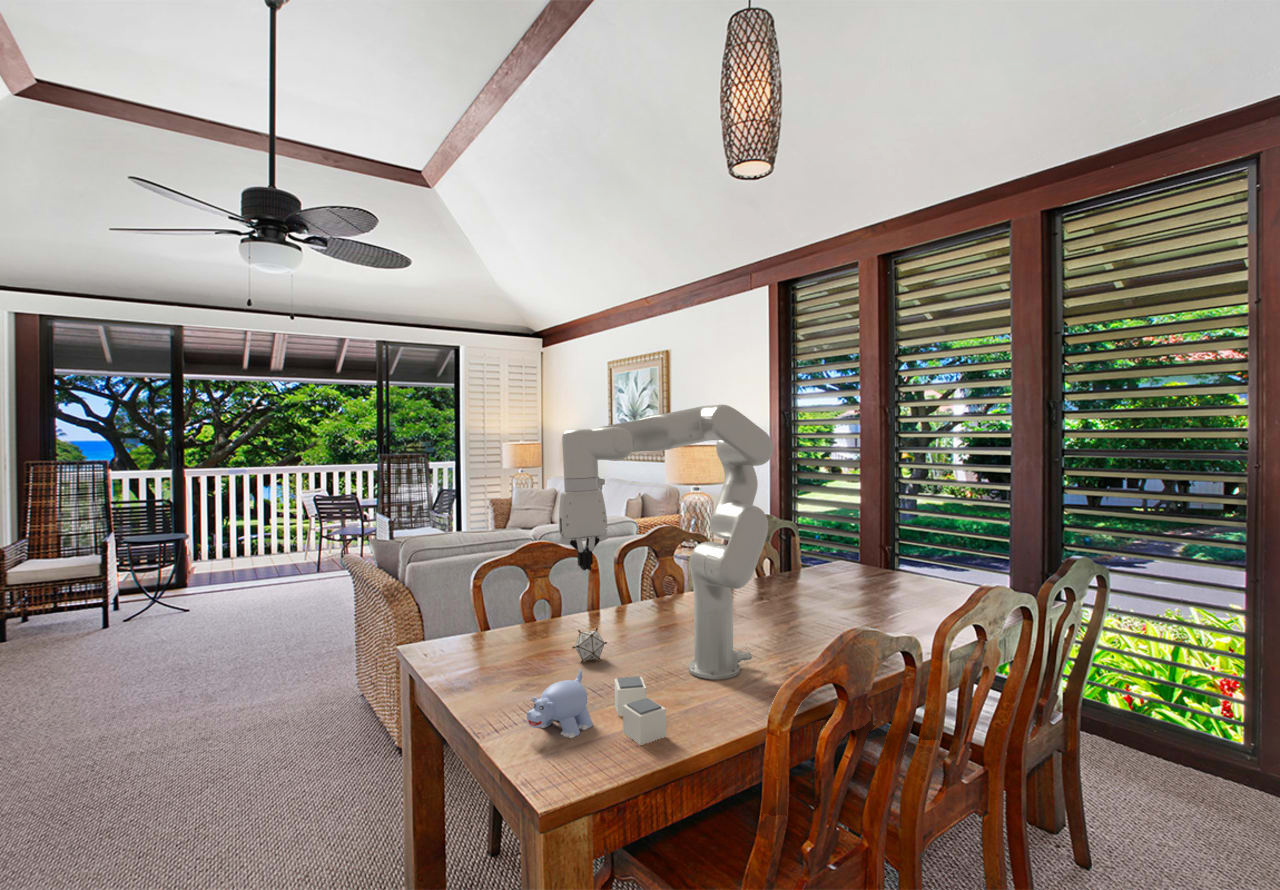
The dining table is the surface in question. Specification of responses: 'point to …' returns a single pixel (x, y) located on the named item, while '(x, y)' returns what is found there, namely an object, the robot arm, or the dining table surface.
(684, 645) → the dining table surface
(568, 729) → the hippopotamus toy
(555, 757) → the dining table surface
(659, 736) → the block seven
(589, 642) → the game die
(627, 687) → the block three
